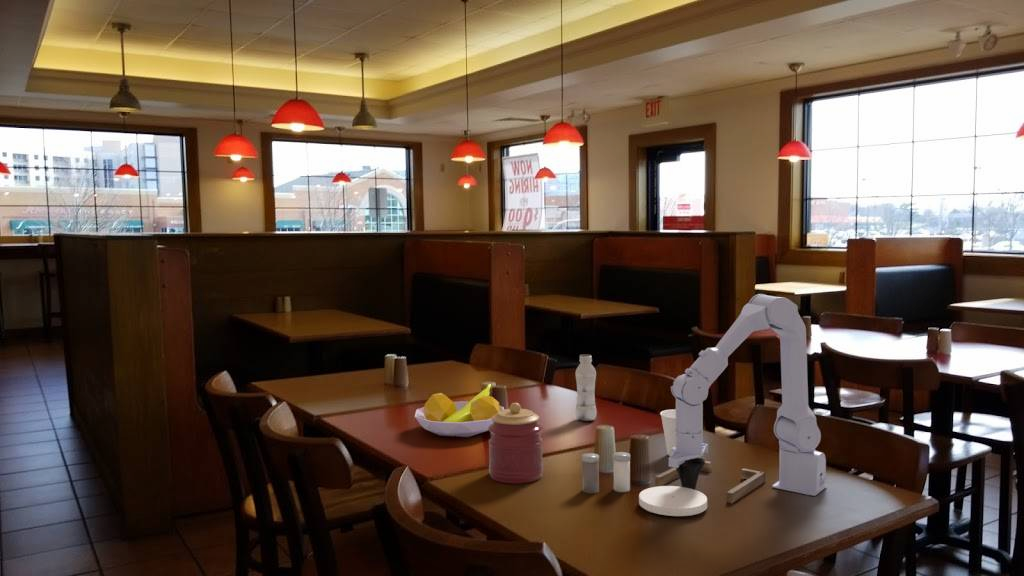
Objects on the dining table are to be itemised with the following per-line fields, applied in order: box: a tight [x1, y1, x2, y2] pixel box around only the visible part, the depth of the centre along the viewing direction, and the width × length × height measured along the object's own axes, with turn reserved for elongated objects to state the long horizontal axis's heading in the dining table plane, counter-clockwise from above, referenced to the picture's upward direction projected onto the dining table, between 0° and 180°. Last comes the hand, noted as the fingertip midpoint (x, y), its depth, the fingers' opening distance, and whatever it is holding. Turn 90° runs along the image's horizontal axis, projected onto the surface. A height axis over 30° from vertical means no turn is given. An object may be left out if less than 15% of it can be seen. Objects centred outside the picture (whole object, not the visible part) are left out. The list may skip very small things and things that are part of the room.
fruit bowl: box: [414, 383, 505, 438], centre depth 228 cm, size 28×27×11 cm
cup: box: [659, 408, 676, 457], centre depth 200 cm, size 10×10×11 cm
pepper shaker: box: [581, 452, 600, 495], centre depth 175 cm, size 4×4×8 cm
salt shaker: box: [612, 451, 631, 493], centre depth 175 cm, size 4×4×8 cm
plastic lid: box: [638, 485, 708, 517], centre depth 164 cm, size 14×14×2 cm
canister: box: [488, 402, 544, 485], centre depth 186 cm, size 13×13×18 cm
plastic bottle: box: [575, 354, 598, 422], centre depth 238 cm, size 6×7×20 cm
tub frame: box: [654, 460, 766, 504], centre depth 178 cm, size 18×18×2 cm
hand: (688, 492), depth 170 cm, fingers closed
